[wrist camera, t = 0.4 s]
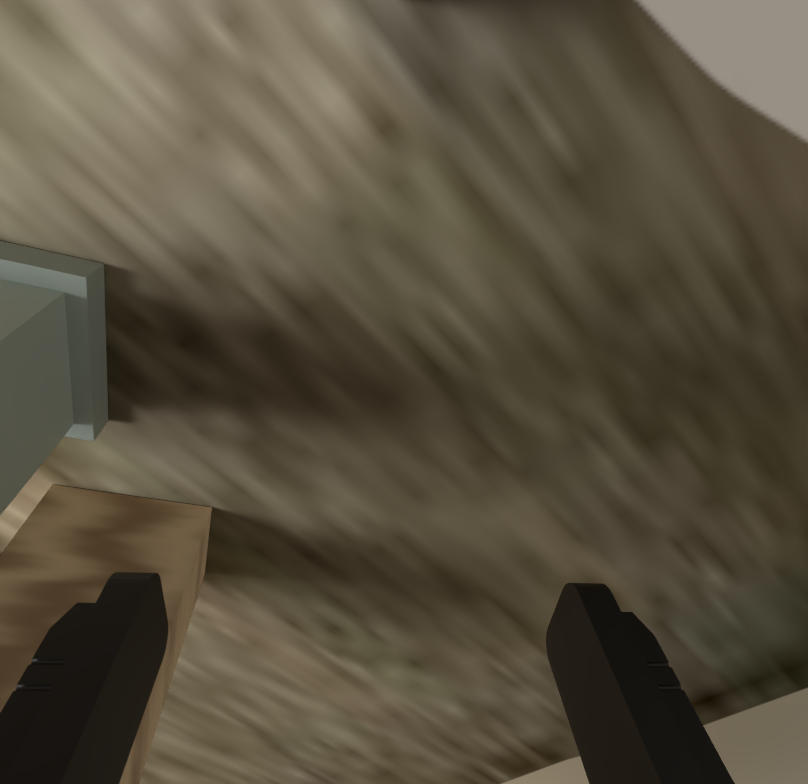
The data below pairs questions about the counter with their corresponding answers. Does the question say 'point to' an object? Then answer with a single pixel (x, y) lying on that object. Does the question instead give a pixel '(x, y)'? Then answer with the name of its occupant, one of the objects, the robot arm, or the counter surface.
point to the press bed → (99, 578)
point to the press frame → (48, 358)
